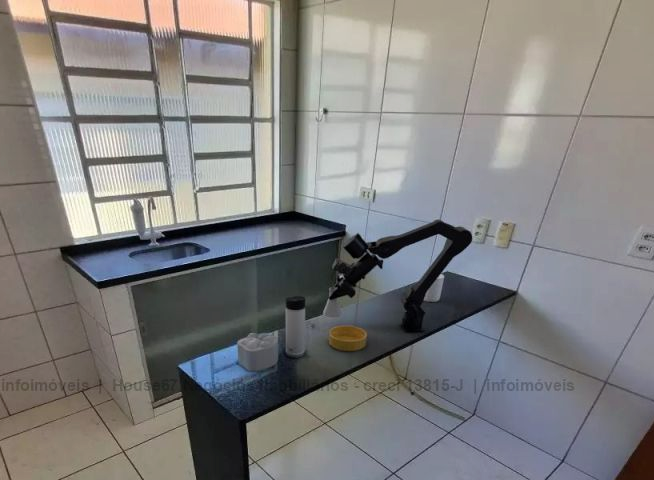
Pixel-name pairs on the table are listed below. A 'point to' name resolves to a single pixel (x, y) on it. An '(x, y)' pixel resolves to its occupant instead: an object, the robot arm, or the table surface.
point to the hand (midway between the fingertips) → (329, 297)
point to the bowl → (347, 338)
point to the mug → (434, 290)
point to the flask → (332, 306)
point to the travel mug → (295, 326)
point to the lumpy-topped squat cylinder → (258, 351)
